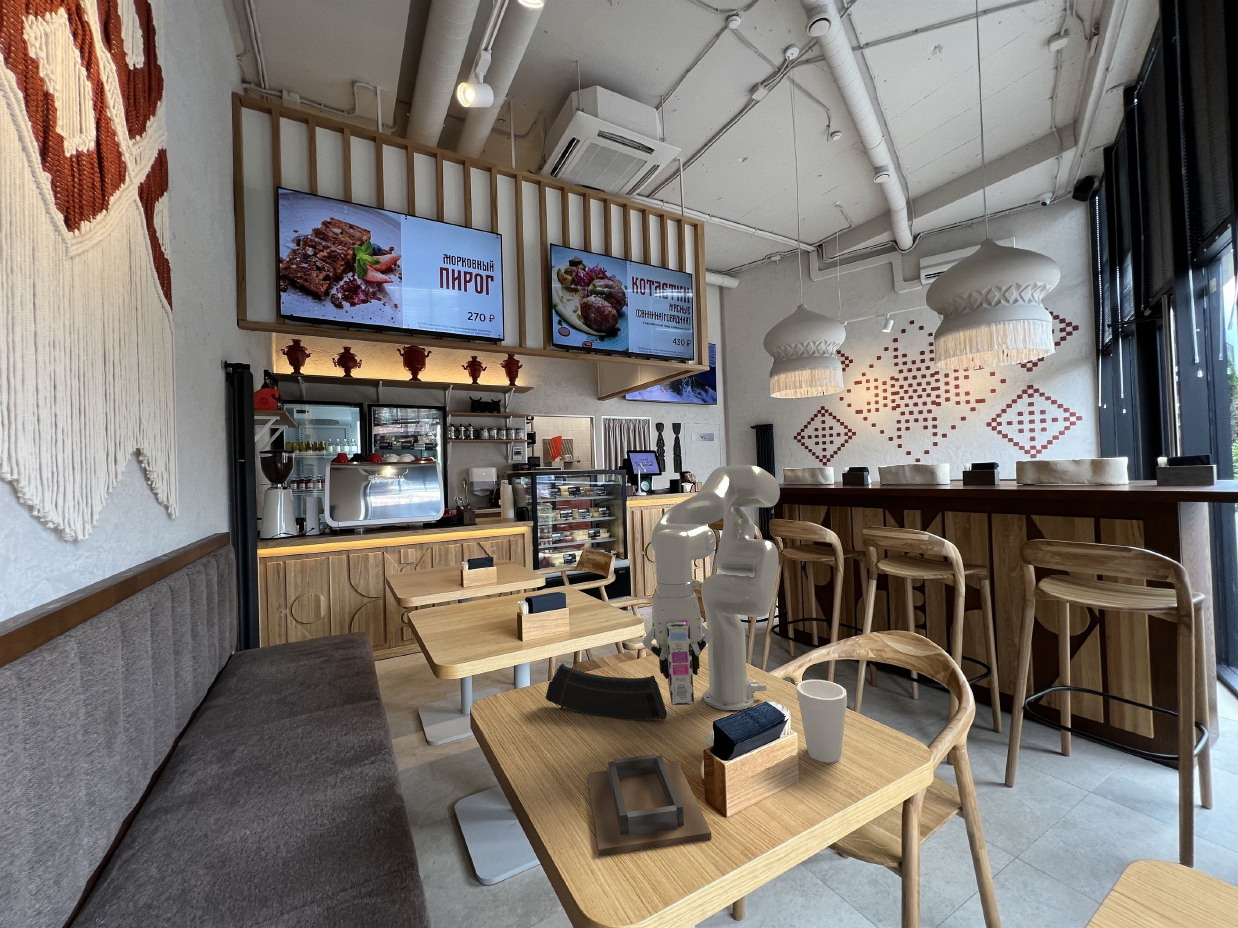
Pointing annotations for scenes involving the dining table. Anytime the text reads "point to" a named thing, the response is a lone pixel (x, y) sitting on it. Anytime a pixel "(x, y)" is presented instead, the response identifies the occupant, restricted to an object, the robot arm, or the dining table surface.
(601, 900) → the dining table surface
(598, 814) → the end cap board
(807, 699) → the foam cup
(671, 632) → the candy bar box
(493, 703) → the dining table surface
